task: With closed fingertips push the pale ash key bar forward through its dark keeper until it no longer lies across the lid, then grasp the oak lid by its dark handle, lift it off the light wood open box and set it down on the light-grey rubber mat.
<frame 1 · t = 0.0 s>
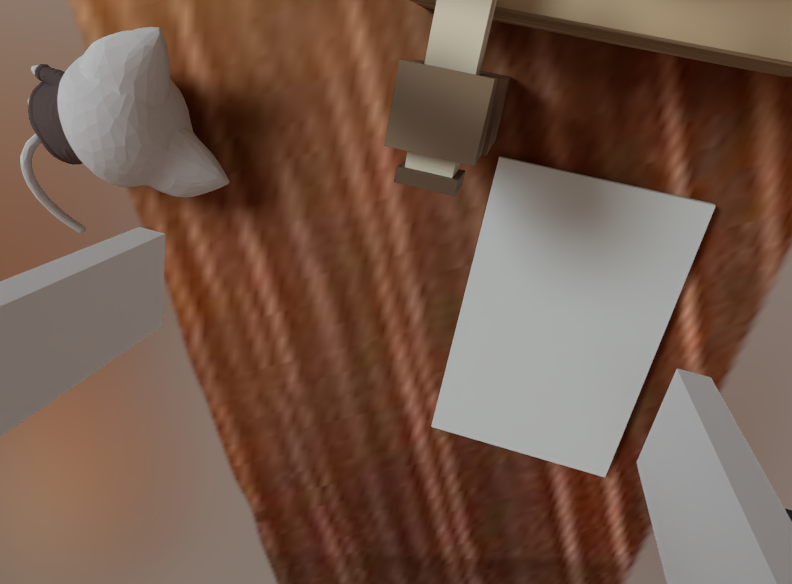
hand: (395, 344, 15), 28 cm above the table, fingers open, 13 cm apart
mat: (556, 326, 43), on the table
toy: (153, 132, 45), on the table
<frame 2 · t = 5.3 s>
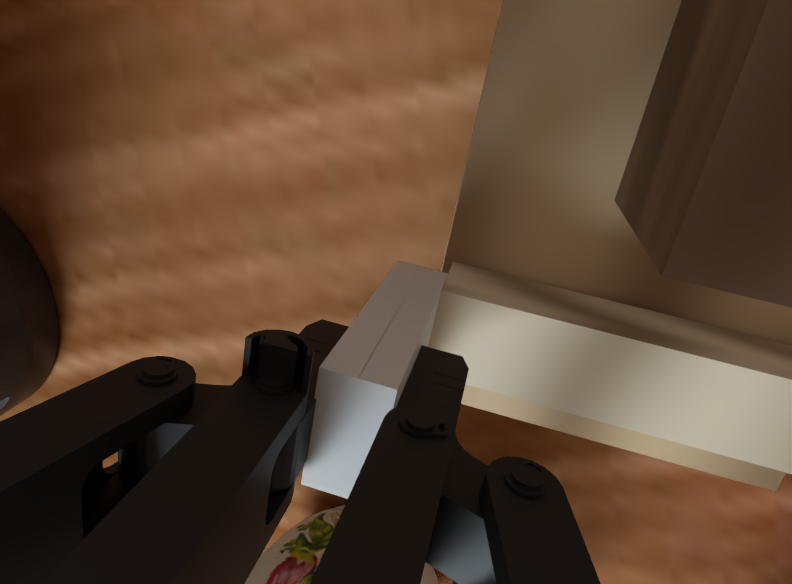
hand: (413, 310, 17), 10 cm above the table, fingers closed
lid: (692, 95, 17), point 6 cm above the table, touching light wood open box
pitcher: (383, 552, 34), on the table
light wood open box: (653, 89, 23), on the table
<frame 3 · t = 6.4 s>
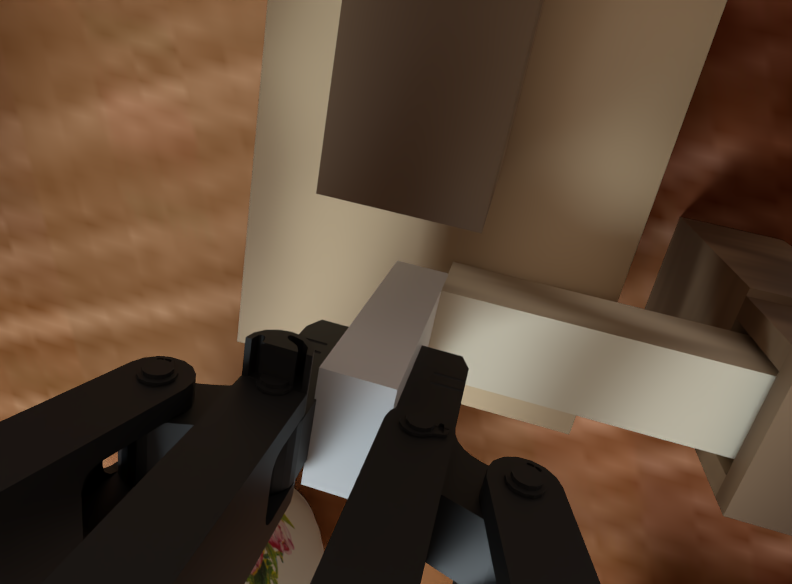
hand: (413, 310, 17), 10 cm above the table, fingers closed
lid: (477, 53, 18), point 6 cm above the table, touching light wood open box
pitcher: (280, 519, 35), on the table
light wood open box: (490, 56, 23), on the table
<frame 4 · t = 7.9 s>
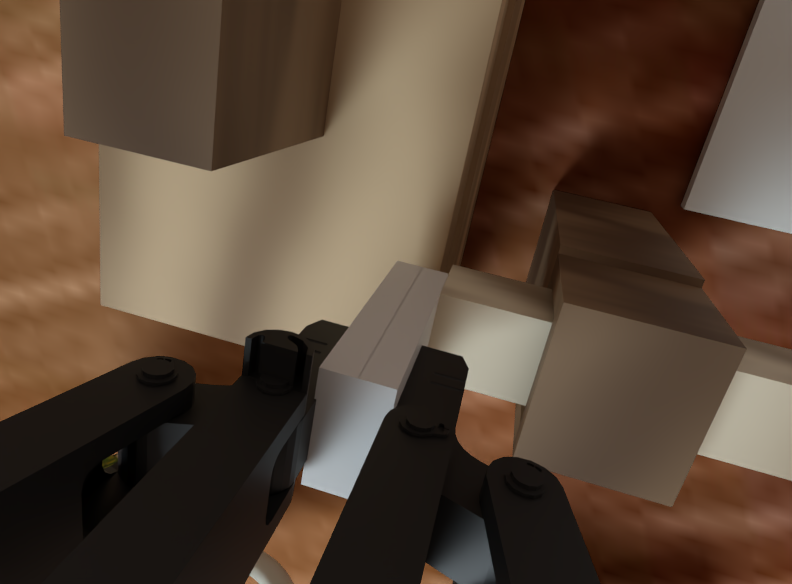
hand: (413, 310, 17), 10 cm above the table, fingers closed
lid: (314, 21, 19), point 6 cm above the table, touching light wood open box
pitcher: (198, 495, 35), on the table
light wood open box: (365, 32, 24), on the table
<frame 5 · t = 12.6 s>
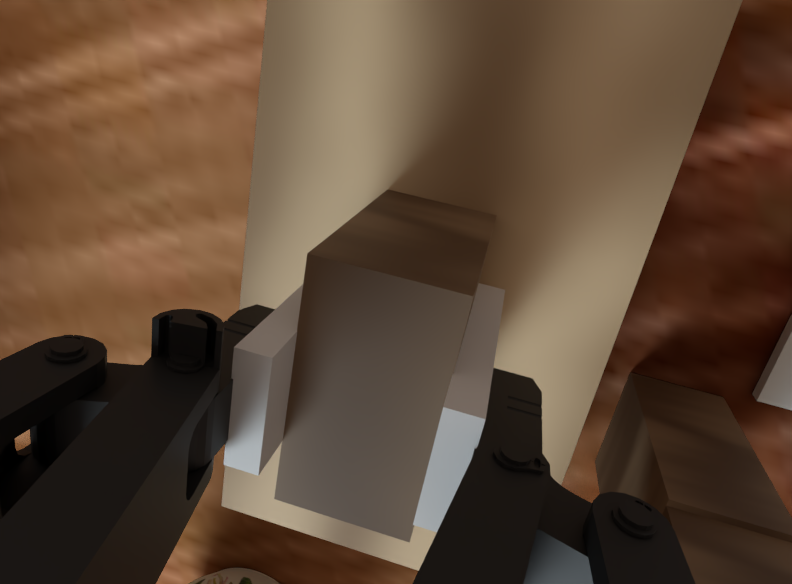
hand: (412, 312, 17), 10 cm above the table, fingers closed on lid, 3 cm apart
lid: (433, 271, 20), point 6 cm above the table, touching light wood open box, gripper
light wood open box: (456, 228, 26), on the table
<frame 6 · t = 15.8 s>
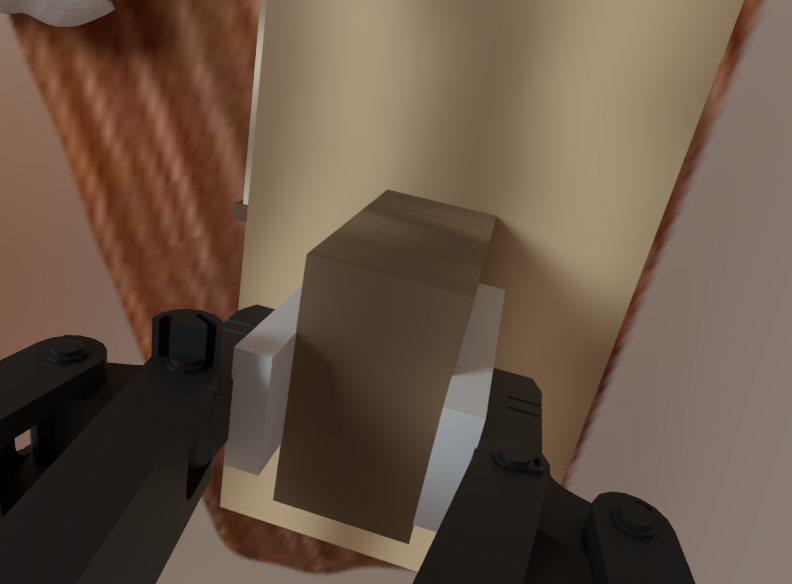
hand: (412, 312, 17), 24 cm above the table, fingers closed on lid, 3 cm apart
lid: (433, 271, 20), point 20 cm above the table, touching gripper
when the fingers open (6 cm above the table, at t = 19.2 s): lid drops 1 cm, resting on mat.
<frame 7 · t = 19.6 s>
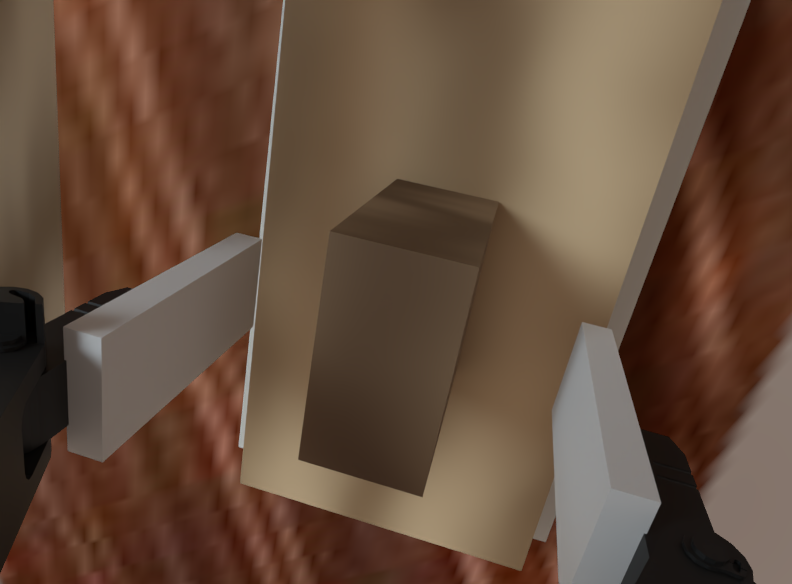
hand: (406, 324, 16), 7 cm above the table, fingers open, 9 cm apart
mat: (442, 254, 22), on the table
lid: (439, 257, 21), point 1 cm above the table, touching mat
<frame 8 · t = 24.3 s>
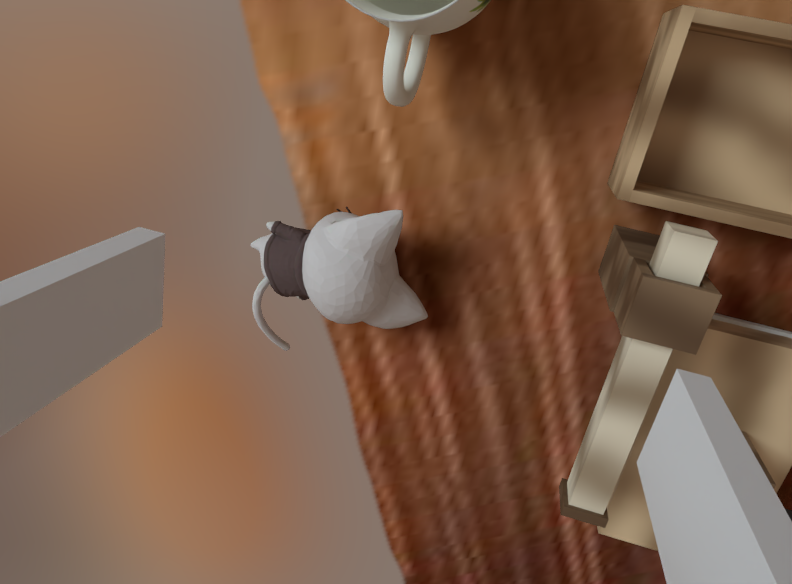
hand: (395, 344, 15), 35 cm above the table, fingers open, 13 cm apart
mat: (700, 435, 51), on the table
key: (630, 383, 40), point 10 cm above the table, slide at 13.2 cm
lid: (702, 438, 50), point 1 cm above the table, touching mat
toy: (350, 265, 53), on the table
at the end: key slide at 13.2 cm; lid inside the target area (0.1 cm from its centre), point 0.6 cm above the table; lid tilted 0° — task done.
